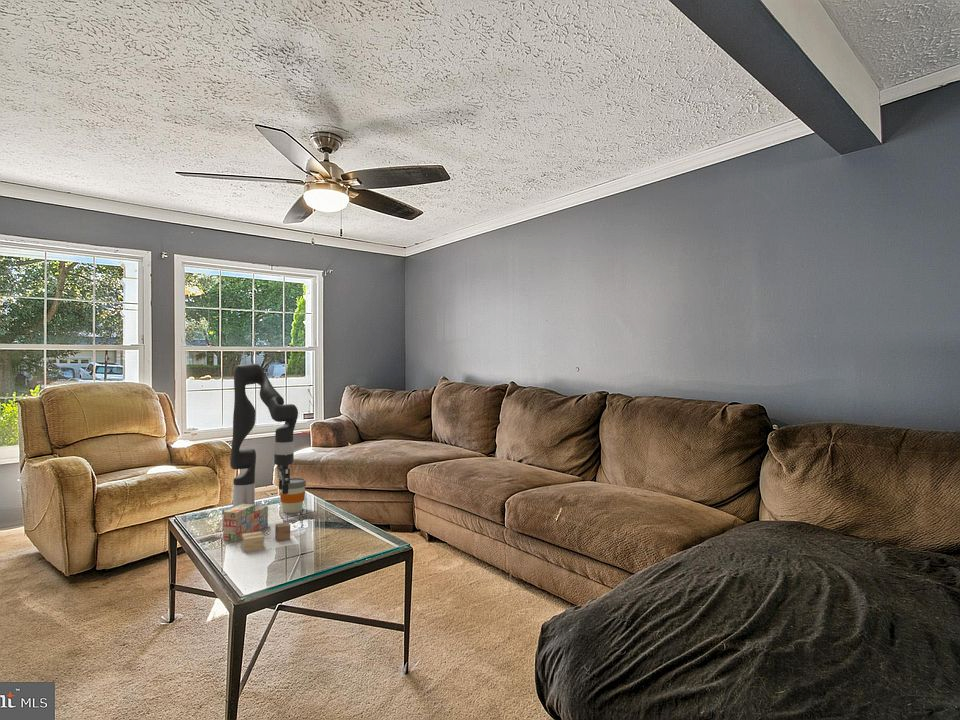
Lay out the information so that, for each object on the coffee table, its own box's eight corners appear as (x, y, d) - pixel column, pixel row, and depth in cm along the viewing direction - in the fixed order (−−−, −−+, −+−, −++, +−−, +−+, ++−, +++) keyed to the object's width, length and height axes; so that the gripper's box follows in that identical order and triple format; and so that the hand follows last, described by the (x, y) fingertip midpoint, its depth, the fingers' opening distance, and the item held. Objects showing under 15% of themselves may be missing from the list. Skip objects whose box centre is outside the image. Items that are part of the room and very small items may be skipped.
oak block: (242, 546, 201) (242, 533, 201) (261, 543, 205) (261, 531, 205) (244, 552, 195) (244, 539, 195) (263, 549, 199) (263, 536, 199)
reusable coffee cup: (310, 508, 258) (311, 479, 258) (293, 515, 246) (294, 484, 246) (291, 506, 262) (291, 477, 263) (273, 512, 251) (273, 482, 251)
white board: (236, 544, 204) (236, 543, 204) (293, 536, 216) (293, 535, 216) (239, 554, 194) (239, 553, 194) (299, 544, 205) (299, 543, 205)
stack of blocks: (255, 525, 230) (256, 498, 230) (268, 526, 229) (268, 499, 229) (222, 540, 209) (223, 511, 209) (236, 542, 208) (236, 512, 208)
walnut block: (275, 538, 211) (275, 523, 211) (287, 536, 214) (288, 522, 214) (277, 541, 207) (277, 527, 207) (290, 540, 210) (290, 525, 210)
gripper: (271, 450, 215) (271, 488, 215) (277, 455, 203) (276, 496, 203) (290, 449, 219) (289, 487, 219) (296, 454, 207) (296, 494, 207)
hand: (283, 491), depth 211 cm, fingers open, 8 cm apart
